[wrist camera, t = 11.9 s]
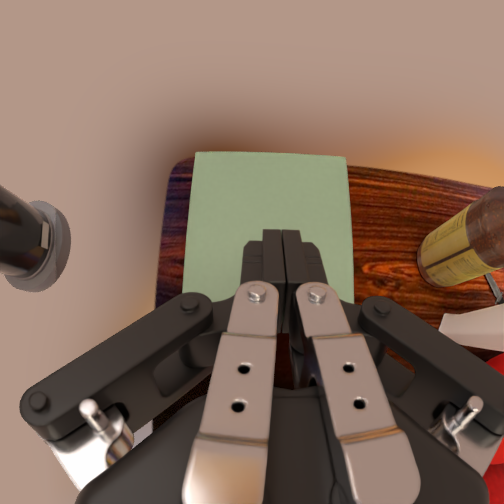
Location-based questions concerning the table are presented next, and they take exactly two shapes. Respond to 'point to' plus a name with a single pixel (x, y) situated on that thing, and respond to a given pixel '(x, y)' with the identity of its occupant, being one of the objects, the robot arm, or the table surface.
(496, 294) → the knife
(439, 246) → the sauce bottle
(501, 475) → the apple
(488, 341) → the perfume bottle
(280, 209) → the sage green square panel
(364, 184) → the table surface
